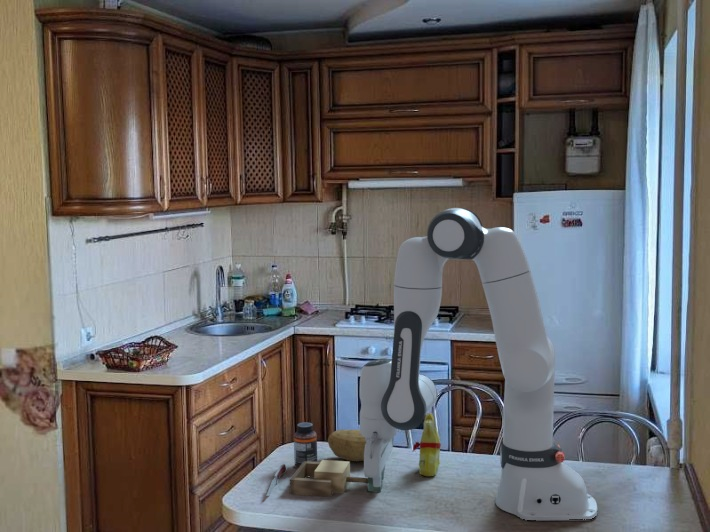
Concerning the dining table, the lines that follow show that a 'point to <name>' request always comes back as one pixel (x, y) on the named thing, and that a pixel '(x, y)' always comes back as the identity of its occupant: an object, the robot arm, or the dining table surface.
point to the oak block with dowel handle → (341, 476)
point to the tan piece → (309, 481)
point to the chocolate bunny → (429, 447)
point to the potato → (348, 444)
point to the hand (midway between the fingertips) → (378, 482)
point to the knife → (276, 478)
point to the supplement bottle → (305, 444)
